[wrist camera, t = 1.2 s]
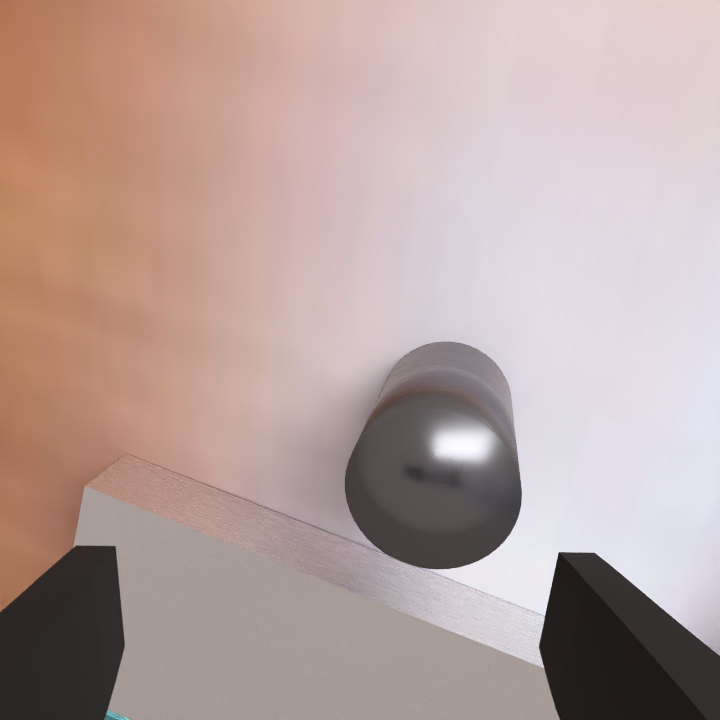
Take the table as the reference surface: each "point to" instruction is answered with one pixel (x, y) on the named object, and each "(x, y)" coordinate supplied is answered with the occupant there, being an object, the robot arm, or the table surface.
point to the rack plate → (293, 617)
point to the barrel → (438, 460)
